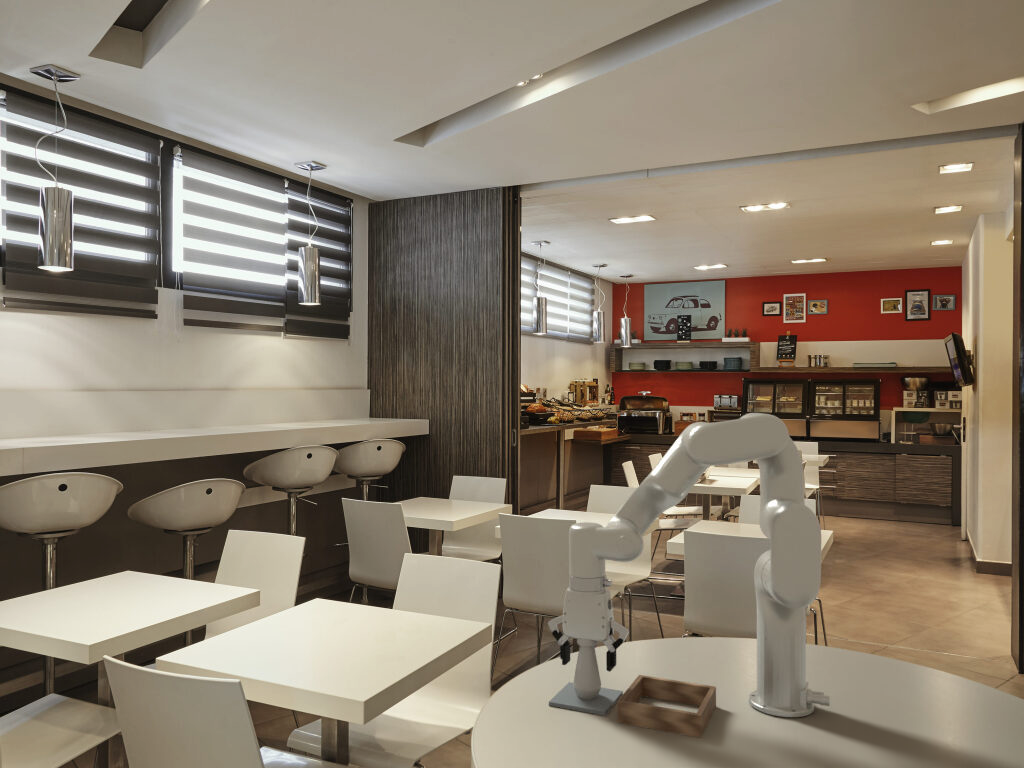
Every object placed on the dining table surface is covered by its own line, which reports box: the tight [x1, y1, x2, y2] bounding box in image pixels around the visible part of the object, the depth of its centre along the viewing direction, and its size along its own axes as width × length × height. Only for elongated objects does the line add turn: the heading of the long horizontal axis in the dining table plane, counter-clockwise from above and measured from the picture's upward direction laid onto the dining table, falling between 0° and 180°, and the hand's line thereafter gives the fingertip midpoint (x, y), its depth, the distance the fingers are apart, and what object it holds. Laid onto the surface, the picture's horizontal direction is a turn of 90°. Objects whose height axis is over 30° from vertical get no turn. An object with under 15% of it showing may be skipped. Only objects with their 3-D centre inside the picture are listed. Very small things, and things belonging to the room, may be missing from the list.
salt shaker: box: [572, 638, 602, 700], centre depth 162 cm, size 6×6×13 cm
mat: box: [548, 681, 624, 717], centre depth 161 cm, size 12×12×1 cm
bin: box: [616, 674, 717, 739], centre depth 154 cm, size 16×16×4 cm
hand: (588, 666), depth 162 cm, fingers open, 9 cm apart
